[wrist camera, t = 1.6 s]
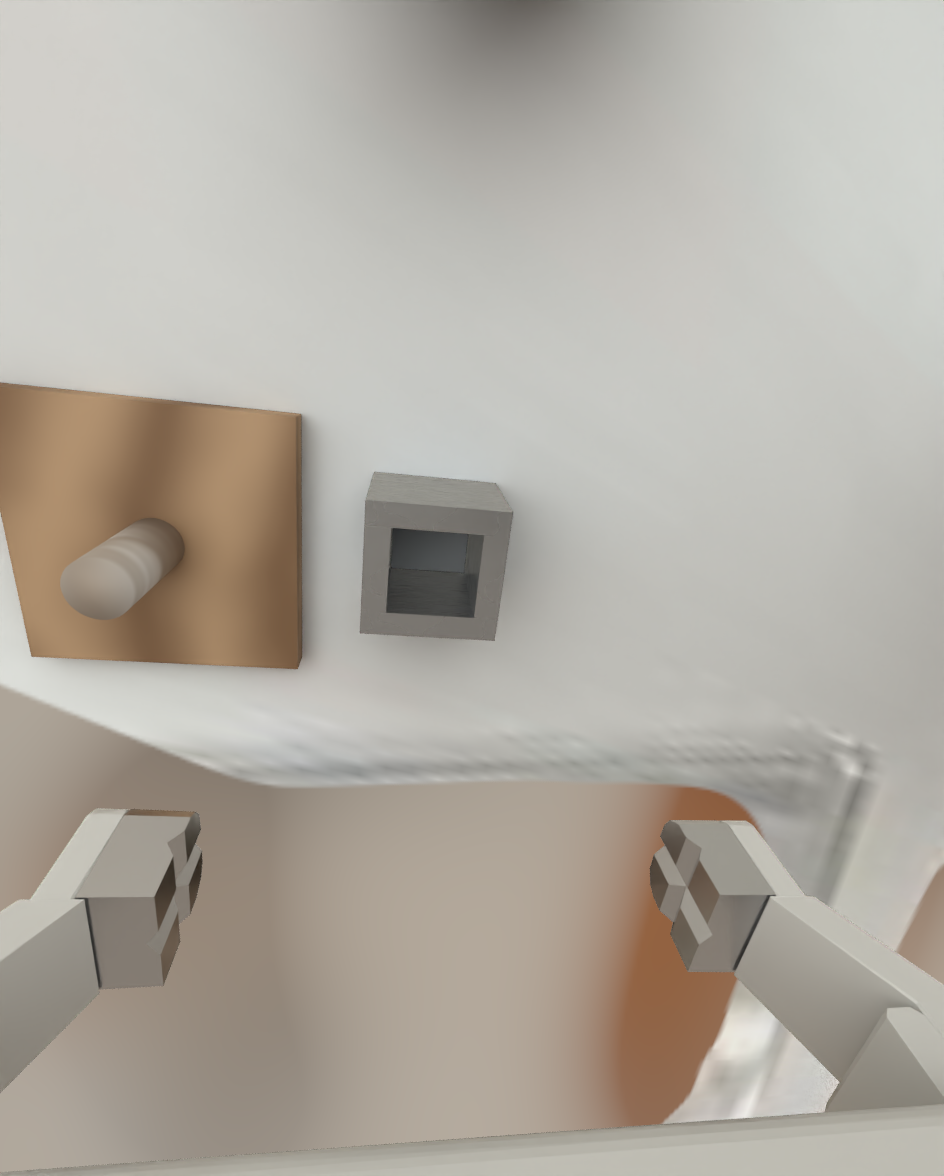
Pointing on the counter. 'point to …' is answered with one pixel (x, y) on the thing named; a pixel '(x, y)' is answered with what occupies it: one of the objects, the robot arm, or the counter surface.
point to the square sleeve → (434, 596)
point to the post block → (153, 527)
